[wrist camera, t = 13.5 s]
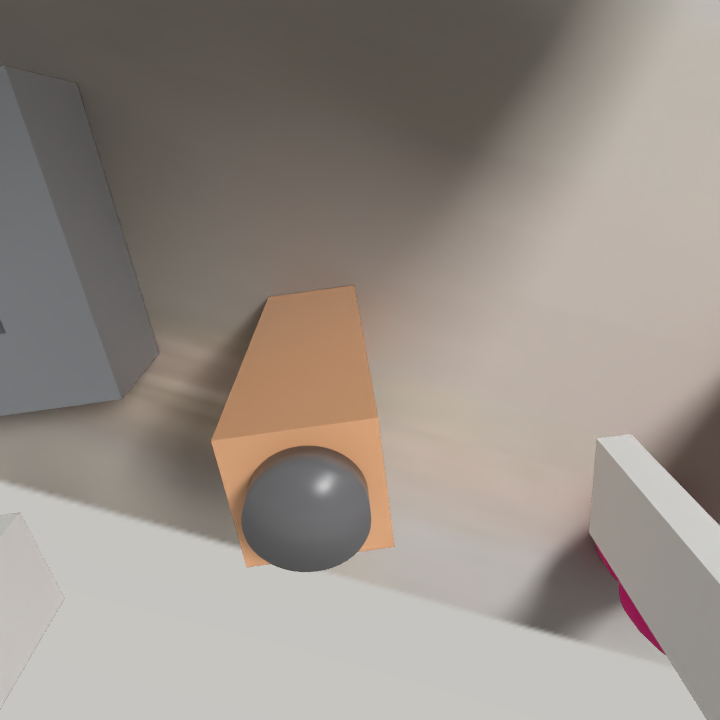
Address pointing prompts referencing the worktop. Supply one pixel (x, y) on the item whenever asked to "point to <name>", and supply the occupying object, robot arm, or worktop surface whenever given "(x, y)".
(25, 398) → the grey square socket block
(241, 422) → the plug
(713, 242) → the worktop surface
